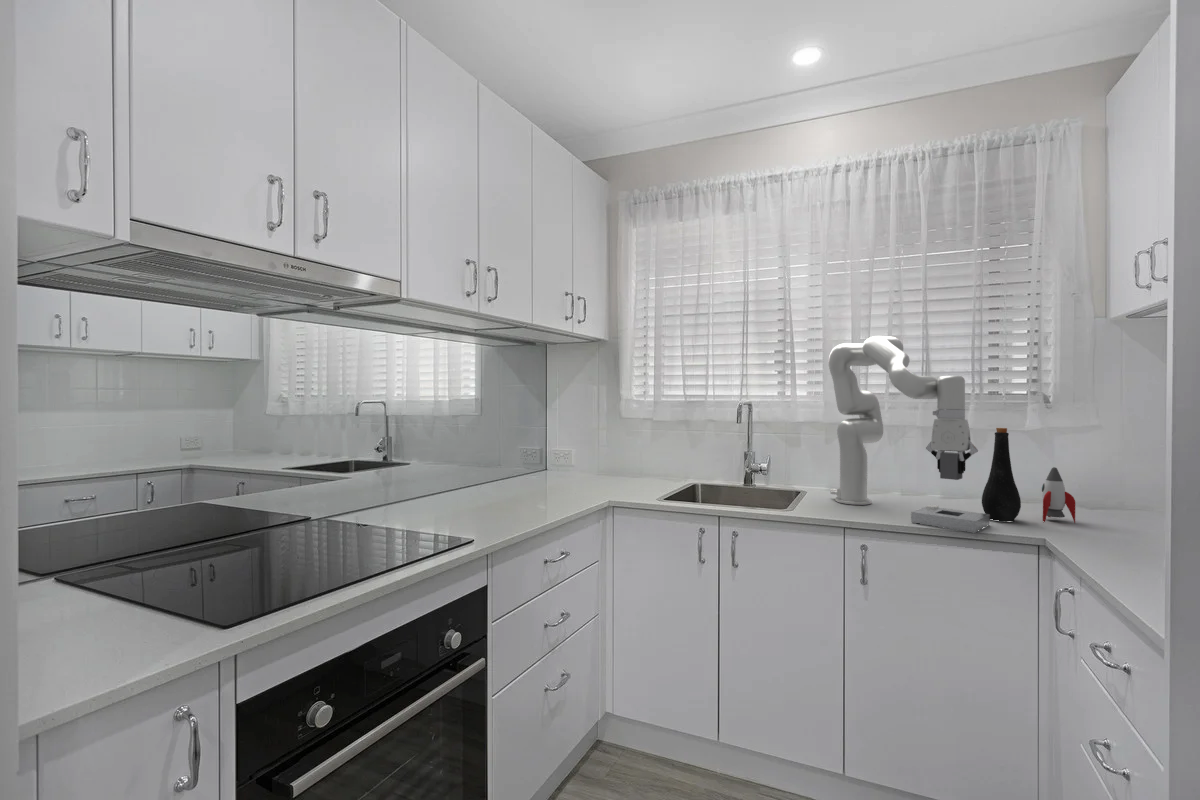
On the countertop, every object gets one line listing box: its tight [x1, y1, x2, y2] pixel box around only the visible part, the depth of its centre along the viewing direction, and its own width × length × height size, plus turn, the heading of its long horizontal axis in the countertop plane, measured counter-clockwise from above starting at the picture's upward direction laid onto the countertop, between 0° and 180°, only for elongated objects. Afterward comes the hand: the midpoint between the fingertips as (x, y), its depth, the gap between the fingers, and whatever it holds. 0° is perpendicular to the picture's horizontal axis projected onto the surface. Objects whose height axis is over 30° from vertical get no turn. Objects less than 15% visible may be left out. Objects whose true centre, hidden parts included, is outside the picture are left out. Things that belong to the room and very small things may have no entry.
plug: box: [939, 451, 963, 481], centre depth 186 cm, size 5×7×8 cm, turn 132°
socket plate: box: [910, 504, 991, 534], centre depth 186 cm, size 18×14×4 cm
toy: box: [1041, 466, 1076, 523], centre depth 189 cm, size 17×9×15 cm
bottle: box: [981, 427, 1022, 522], centre depth 192 cm, size 11×11×30 cm
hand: (951, 472), depth 186 cm, fingers closed on plug, 4 cm apart
